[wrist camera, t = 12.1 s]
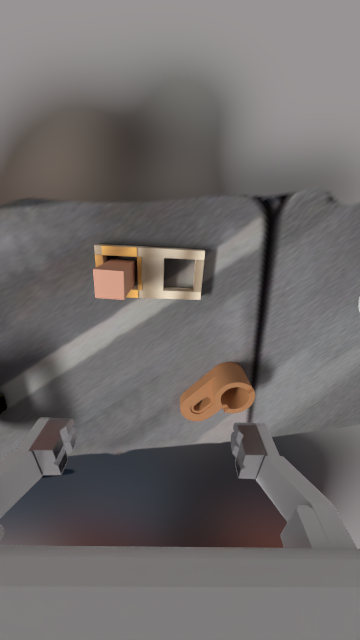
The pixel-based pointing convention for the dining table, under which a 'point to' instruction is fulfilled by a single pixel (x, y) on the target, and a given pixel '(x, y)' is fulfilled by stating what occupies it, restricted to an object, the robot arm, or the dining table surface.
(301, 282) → the dining table surface
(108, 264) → the terracotta peg
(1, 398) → the pottery vessel
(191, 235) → the dining table surface
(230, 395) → the bracket
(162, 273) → the peg board
